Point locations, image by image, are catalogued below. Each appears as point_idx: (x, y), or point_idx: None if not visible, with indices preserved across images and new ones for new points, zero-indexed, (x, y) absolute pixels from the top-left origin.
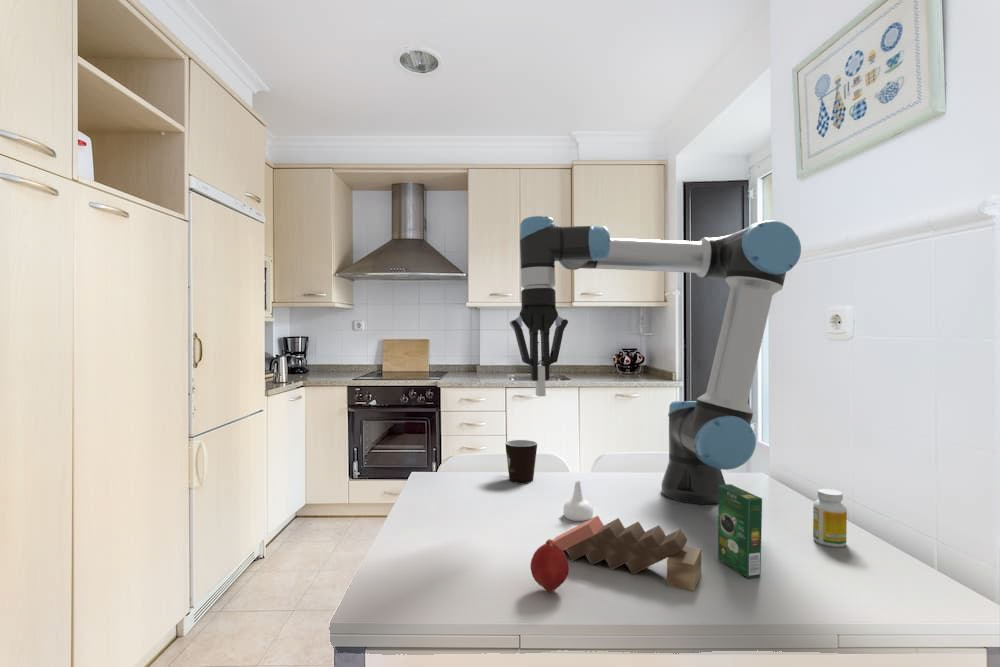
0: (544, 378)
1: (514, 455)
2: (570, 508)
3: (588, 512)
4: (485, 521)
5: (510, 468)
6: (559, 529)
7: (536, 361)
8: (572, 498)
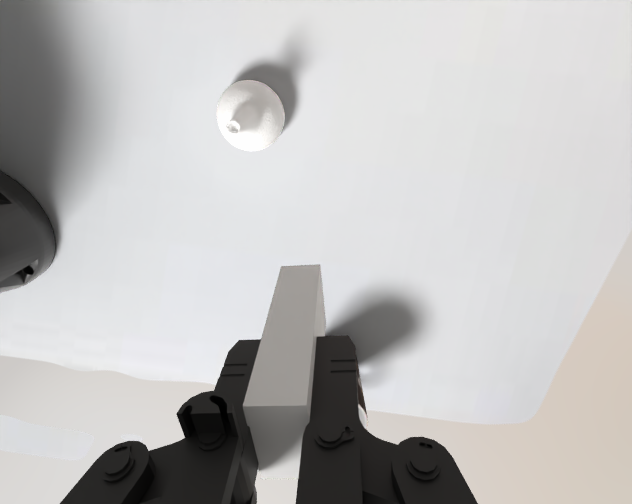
0: (268, 330)
1: None
2: (269, 97)
3: (230, 85)
4: (468, 108)
5: (356, 368)
6: (311, 33)
7: (319, 454)
8: (257, 121)
